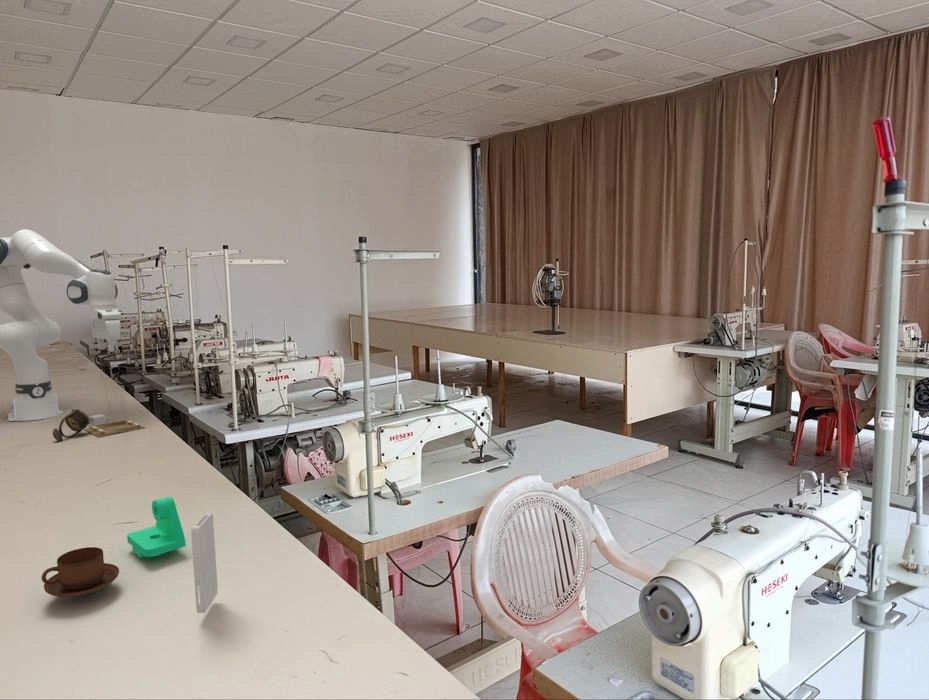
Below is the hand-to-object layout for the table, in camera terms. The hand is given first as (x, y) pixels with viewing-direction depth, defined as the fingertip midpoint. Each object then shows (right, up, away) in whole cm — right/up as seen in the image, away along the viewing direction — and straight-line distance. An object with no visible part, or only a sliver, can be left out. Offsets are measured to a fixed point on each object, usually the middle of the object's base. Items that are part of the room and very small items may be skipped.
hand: (106, 350), depth 246 cm
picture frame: (+6, -30, -5) cm, 31 cm away
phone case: (+89, -44, -131) cm, 165 cm away
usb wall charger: (-5, -29, +5) cm, 30 cm away
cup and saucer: (+64, -44, -125) cm, 147 cm away
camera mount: (+69, -42, -108) cm, 135 cm away
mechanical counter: (-4, -31, -15) cm, 35 cm away
